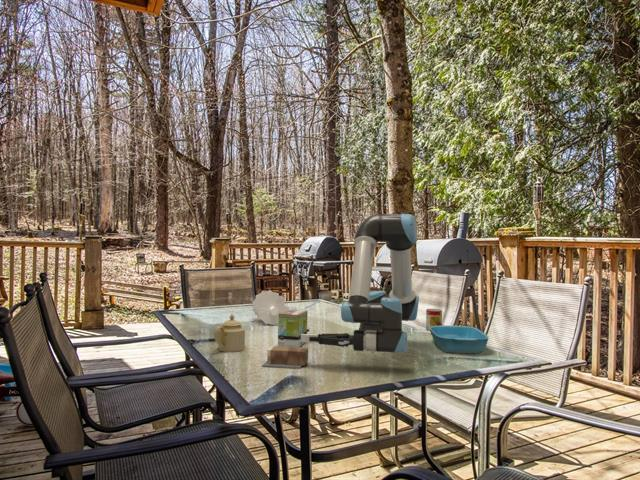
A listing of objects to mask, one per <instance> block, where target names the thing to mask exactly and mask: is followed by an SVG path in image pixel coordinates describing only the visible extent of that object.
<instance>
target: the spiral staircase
mask: <svg viewBox="0 0 640 480" xmlns="http://www.w3.org/2000/svg"><path fill="white" fill-rule="evenodd" d="M252 304H253V308H252V310H253V312H254V315H255V316H256V319H258V320H259V321H260V320H261V321H262V322H263V323H264V324H265V325H272V326H276V325H278V323H279V313H281V312H283V311H286V310H290V307H289V306H288V305H287V306H286V305H285V304H286V302H285V299H284V297H283V296H282V295H279V294H278V293H277V292H275V291H274V292H273V291H272V290H270V289H269V290H268V291H267V290H261V292H260V293H258V294H256V295H255V298H254V299H253V301H252Z"/></svg>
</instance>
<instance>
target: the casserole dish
mask: <svg viewBox="0 0 640 480" xmlns="http://www.w3.org/2000/svg"><path fill="white" fill-rule="evenodd" d="M430 331H431V334H430V335H431V337H432V341H434V343H435V344H436V346H438V347H439V348H440V349H441V350H442V351H443V350H444V352H445V351H446V353H451V352H452V353H453V354H455V353H456V354H480V352H481V353H482V352H484V350H485V349H486V348H487V347H486V346H487V344H488V341H489V336H488V335H487V334H486V333H484V332H483V331H481V330H480V329H479V328H476V327H474V326H467V325H466V326H465V325H451V324H449V325H447V324H445V325H443V324H442V326H431V327H430ZM452 353H451V354H452Z"/></svg>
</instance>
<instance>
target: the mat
mask: <svg viewBox="0 0 640 480" xmlns="http://www.w3.org/2000/svg"><path fill="white" fill-rule="evenodd" d="M261 366H262V368H279V369H280V368H281V369H298V370H299V369H302V367H303V365H285V364H267V361H266V362H264V363H263V364H262V365H261Z"/></svg>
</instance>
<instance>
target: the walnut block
mask: <svg viewBox="0 0 640 480" xmlns="http://www.w3.org/2000/svg"><path fill="white" fill-rule="evenodd" d="M266 354H267V359H266V360H267V364H285V365H303V366H305V365H306V364H307V363H308V362H309V347H301V346H300V347H283V346H278V345H271V347H269V348H268V349H267V353H266ZM303 366H302V367H303Z"/></svg>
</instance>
